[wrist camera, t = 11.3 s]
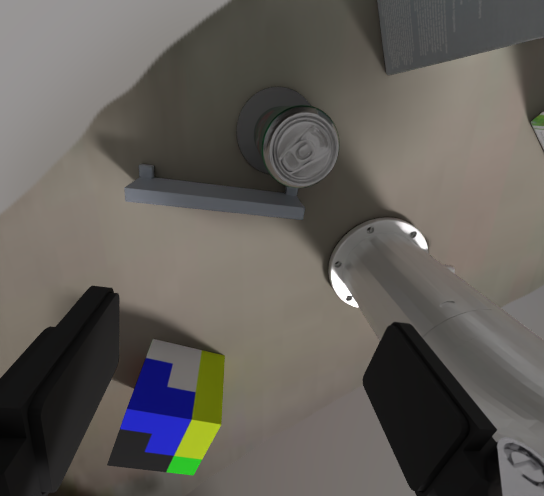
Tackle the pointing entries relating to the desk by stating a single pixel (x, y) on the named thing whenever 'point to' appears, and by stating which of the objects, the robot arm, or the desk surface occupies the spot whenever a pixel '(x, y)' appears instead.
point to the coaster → (251, 115)
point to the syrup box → (539, 127)
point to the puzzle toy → (171, 410)
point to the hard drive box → (453, 29)
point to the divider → (212, 196)
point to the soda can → (297, 144)
